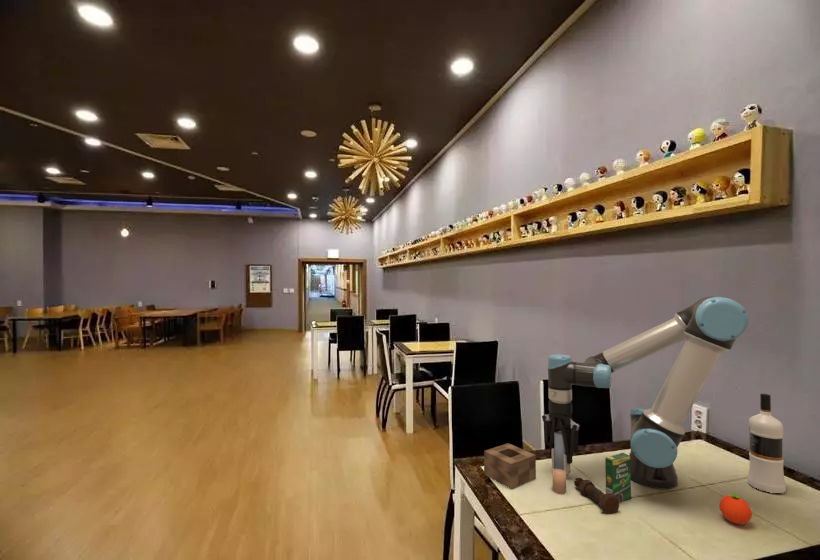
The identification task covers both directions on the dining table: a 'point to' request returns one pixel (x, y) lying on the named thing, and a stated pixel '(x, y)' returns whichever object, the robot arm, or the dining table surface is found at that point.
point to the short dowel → (559, 481)
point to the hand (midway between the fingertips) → (561, 469)
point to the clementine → (735, 509)
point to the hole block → (510, 465)
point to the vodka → (766, 450)
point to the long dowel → (559, 450)
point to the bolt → (598, 495)
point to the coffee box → (618, 476)
